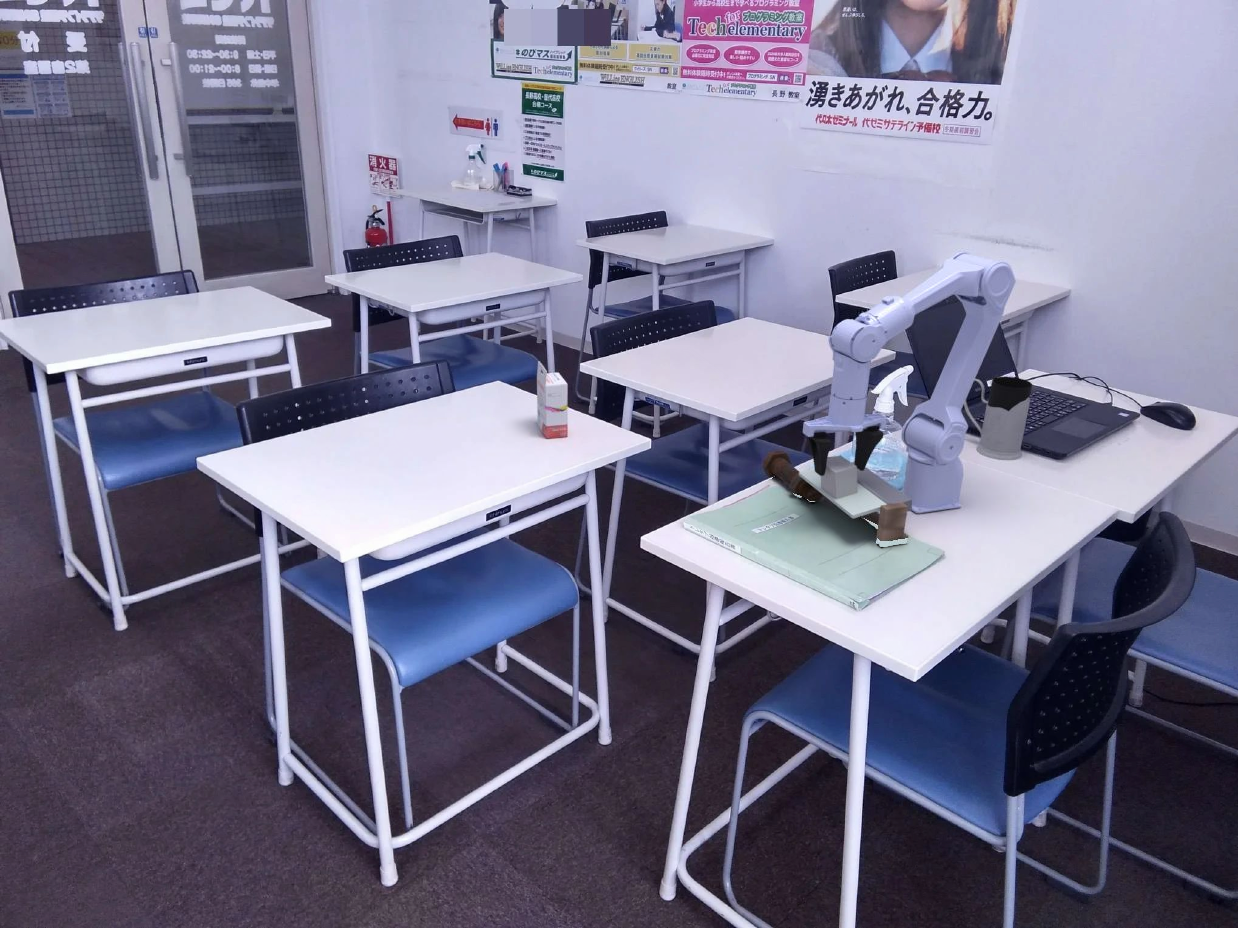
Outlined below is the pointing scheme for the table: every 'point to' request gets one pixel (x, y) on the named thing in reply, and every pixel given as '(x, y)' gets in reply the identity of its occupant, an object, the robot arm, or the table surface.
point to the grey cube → (839, 477)
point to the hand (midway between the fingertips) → (839, 471)
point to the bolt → (789, 475)
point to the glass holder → (1003, 418)
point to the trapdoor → (861, 493)
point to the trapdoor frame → (889, 521)
